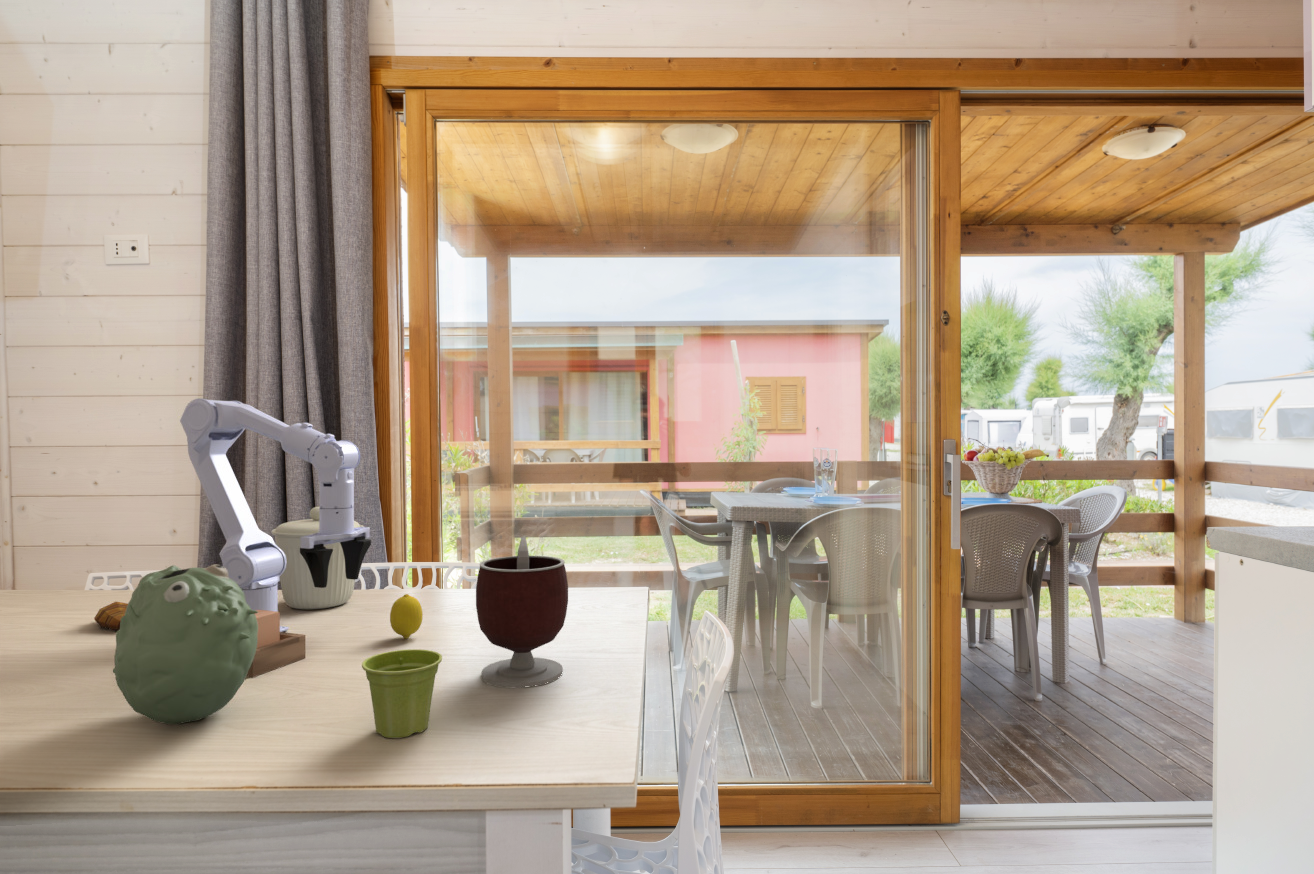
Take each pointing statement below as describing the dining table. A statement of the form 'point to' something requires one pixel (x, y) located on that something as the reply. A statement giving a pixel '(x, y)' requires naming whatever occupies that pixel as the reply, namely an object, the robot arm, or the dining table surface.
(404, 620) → the lemon
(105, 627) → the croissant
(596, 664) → the dining table surface
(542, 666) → the mate gourd
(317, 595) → the canister
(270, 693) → the dining table surface
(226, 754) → the dining table surface
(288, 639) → the walnut base
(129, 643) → the green pufferfish toy
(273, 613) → the block
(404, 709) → the plant pot
